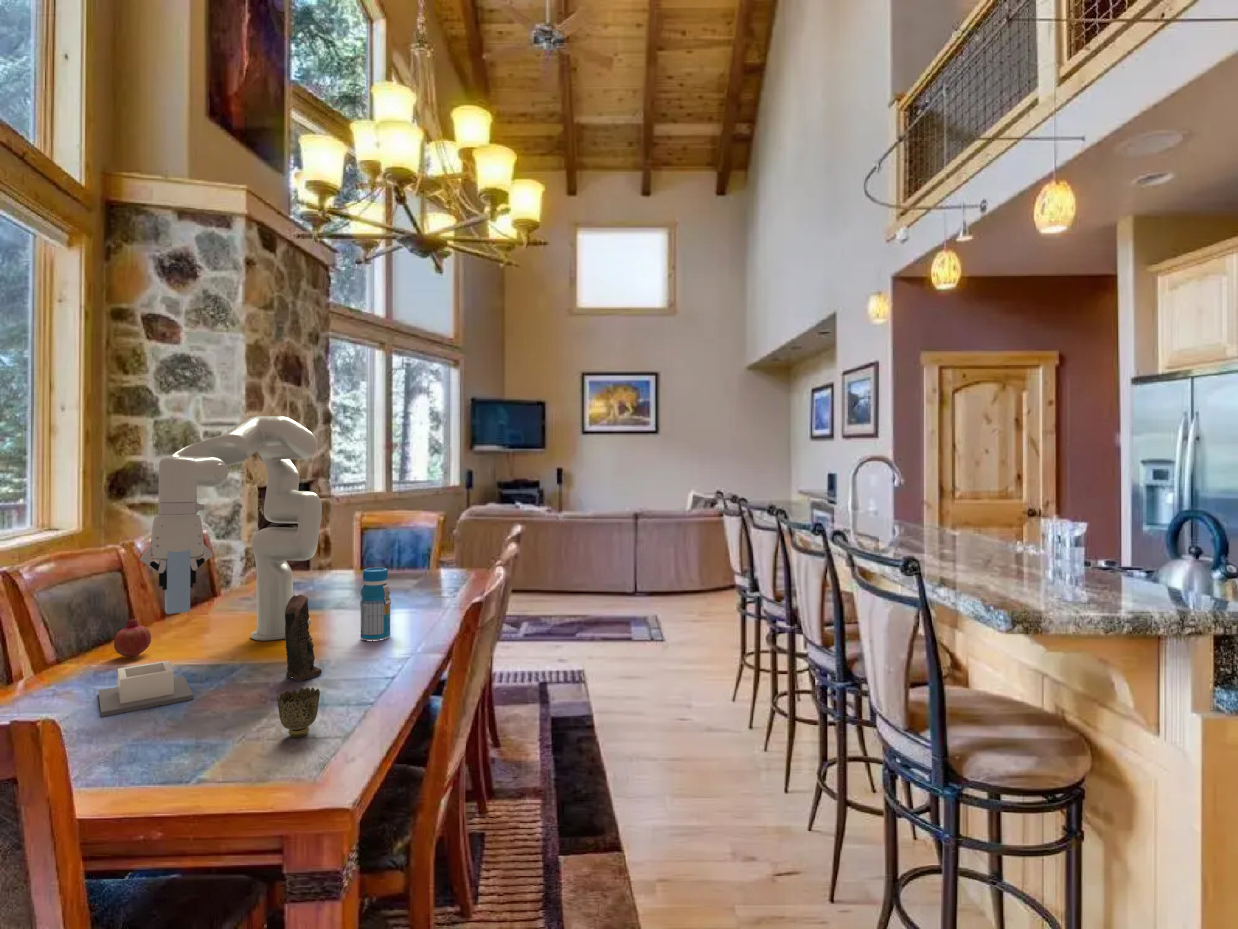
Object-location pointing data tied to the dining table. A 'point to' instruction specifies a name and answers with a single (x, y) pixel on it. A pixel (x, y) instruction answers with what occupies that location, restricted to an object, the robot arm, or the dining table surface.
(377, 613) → the beverage bottle
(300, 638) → the statue
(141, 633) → the fruit
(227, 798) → the dining table surface
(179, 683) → the well
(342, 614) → the dining table surface
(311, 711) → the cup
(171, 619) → the dining table surface
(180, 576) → the post
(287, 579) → the robot arm
